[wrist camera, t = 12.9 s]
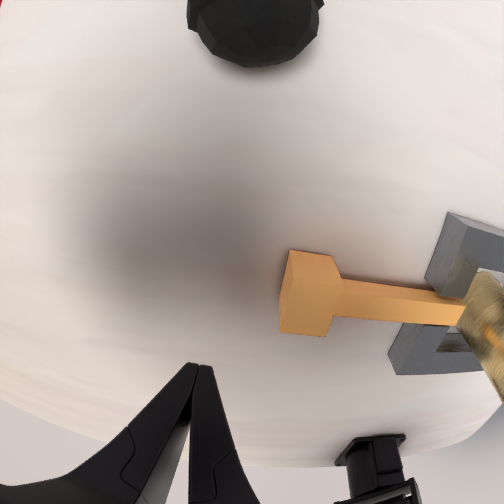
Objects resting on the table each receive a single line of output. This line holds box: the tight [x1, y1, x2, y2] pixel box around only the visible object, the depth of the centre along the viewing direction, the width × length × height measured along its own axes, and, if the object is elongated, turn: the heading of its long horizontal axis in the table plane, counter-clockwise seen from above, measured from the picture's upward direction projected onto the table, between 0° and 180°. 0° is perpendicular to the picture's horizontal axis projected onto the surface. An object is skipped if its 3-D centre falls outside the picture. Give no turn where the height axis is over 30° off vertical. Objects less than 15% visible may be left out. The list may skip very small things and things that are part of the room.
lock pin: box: [279, 250, 466, 337], centre depth 16 cm, size 3×11×3 cm, turn 81°
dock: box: [388, 212, 504, 375], centre depth 16 cm, size 11×11×2 cm
